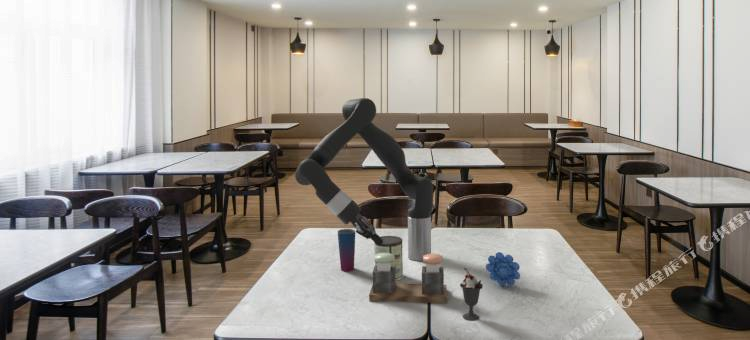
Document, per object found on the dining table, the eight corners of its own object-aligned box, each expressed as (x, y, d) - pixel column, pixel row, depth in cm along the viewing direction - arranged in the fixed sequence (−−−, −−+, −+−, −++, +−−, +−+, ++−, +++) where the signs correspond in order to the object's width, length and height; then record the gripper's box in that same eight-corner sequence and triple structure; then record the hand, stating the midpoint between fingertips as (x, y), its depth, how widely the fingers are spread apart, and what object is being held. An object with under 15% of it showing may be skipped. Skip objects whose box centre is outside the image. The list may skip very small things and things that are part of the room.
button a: (373, 280, 171) (373, 258, 170) (375, 273, 178) (375, 252, 177) (393, 281, 171) (392, 259, 170) (394, 274, 177) (394, 252, 176)
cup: (353, 272, 197) (352, 233, 195) (336, 271, 198) (335, 233, 196) (358, 266, 203) (357, 229, 201) (341, 265, 205) (340, 228, 203)
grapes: (485, 289, 178) (486, 255, 176) (485, 282, 185) (485, 249, 183) (521, 291, 176) (522, 256, 174) (519, 283, 183) (520, 250, 181)
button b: (422, 281, 170) (422, 259, 168) (423, 275, 176) (423, 253, 175) (442, 282, 169) (442, 260, 168) (442, 275, 175) (442, 253, 174)
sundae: (457, 313, 160) (457, 265, 158) (478, 311, 160) (479, 264, 158) (462, 322, 153) (462, 273, 151) (485, 321, 154) (485, 272, 152)
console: (369, 300, 170) (368, 274, 169) (373, 288, 181) (372, 263, 180) (446, 303, 167) (446, 276, 166) (446, 290, 178) (446, 264, 177)
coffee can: (381, 270, 199) (381, 234, 197) (407, 274, 194) (406, 237, 192) (370, 279, 190) (369, 241, 187) (396, 283, 185) (395, 244, 183)
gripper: (347, 203, 165) (387, 241, 165) (354, 195, 178) (391, 230, 178) (331, 219, 167) (371, 257, 167) (339, 210, 180) (376, 245, 180)
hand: (381, 243), depth 173 cm, fingers closed
